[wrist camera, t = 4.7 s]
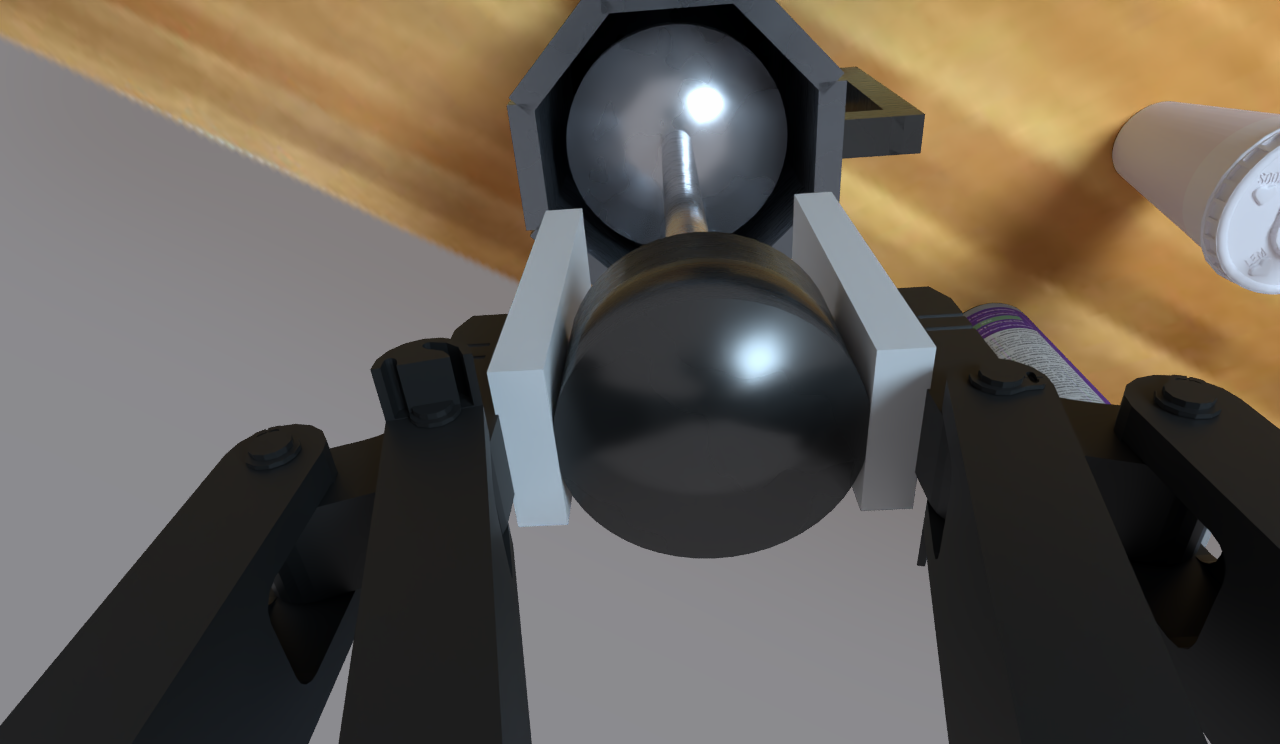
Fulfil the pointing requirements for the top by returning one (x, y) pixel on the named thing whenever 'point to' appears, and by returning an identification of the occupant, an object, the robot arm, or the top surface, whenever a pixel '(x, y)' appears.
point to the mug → (804, 74)
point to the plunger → (698, 313)
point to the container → (1033, 352)
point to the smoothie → (1212, 182)
